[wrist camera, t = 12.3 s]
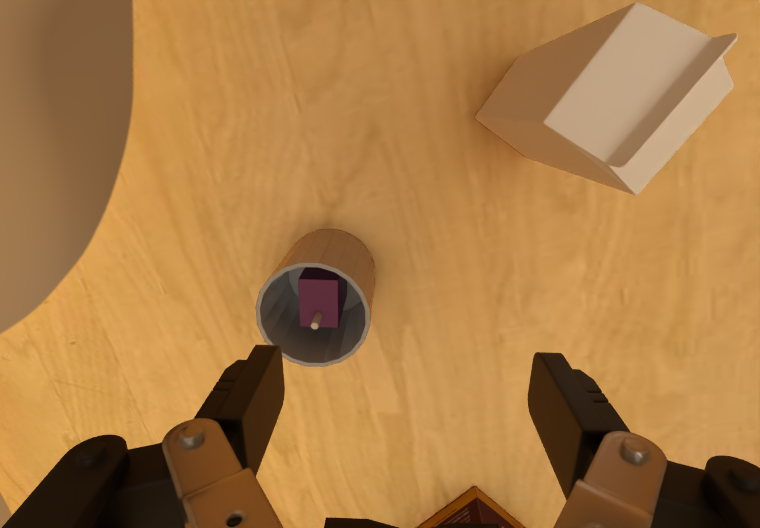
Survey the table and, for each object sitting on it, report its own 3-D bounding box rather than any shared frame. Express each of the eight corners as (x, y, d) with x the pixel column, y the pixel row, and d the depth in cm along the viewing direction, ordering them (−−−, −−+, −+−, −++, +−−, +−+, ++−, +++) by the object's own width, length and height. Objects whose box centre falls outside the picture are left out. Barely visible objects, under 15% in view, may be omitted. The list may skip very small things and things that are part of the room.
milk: (473, 118, 38) (562, 124, 17) (519, 54, 36) (681, -25, 16) (527, 159, 39) (675, 212, 18) (575, 98, 37) (798, 81, 16)
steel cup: (283, 228, 42) (250, 262, 32) (375, 229, 42) (369, 263, 32) (289, 312, 45) (261, 365, 35) (375, 313, 44) (370, 367, 35)
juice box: (313, 252, 42) (292, 288, 33) (346, 253, 42) (334, 289, 33) (314, 293, 43) (294, 338, 35) (347, 294, 43) (335, 339, 35)
